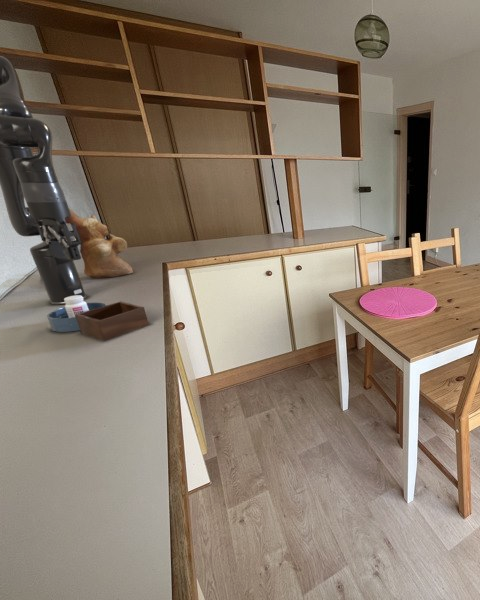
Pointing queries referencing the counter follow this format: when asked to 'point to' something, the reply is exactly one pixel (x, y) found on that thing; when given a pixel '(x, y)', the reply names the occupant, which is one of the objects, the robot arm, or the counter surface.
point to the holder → (112, 320)
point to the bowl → (67, 319)
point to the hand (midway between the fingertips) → (67, 258)
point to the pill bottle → (75, 305)
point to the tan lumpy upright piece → (99, 248)
